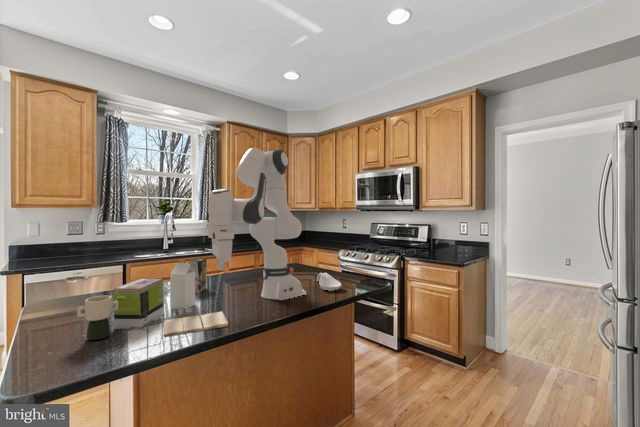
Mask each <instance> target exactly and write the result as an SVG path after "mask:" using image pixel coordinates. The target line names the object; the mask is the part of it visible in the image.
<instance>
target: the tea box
mask: <svg viewBox="0 0 640 427" xmlns="http://www.w3.org/2000/svg"><path fill="white" fill-rule="evenodd" d="M164 297H165V296H164V279H163V278H140V279H139V278H138V279H136V280H132V281H131V282H128V283H125V284H122V285H120V286H117V287H114V288H113V301H118V310H115V311H113V315H114V318H113V320H114V323H113V324H114V329H117V330H118V329H119V330H130V329H131V328H142V327H143V326H144V327H145V325H147V324H149V323H150V322H153V321H154V320H155V319H157V318H159V317H160V316H162V315H164V313H165V306H164V300H165V299H164ZM113 308H115V304H113Z"/></svg>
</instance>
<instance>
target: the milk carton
mask: <svg viewBox="0 0 640 427" xmlns="http://www.w3.org/2000/svg"><path fill="white" fill-rule="evenodd" d="M169 278H170V279H169V281H170V283H169V284H170V289H169V292H170V294H169V296H170V297H169V298H170V300H169V301H170V302H169V307H170V308H169V309H171V310H179V309H187V308H191V307H193V306H195V305H196V293H195V271H194V270H193V269H192V267H191V266H190V264H188V263H182V262H181V263H180V262H176V263H175V266H174V268H173V269H172V271H171V272H170V276H169Z"/></svg>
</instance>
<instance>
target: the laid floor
mask: <svg viewBox="0 0 640 427" xmlns="http://www.w3.org/2000/svg"><path fill="white" fill-rule="evenodd" d="M163 323H164V324H163V337H169V336H175V335H182V334H188V333H194V332H200V331H203V324H202V320H201V317H200V315H194V316H193V315H192V316H185V317H178V318H170V319H164V321H163Z"/></svg>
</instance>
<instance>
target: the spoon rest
mask: <svg viewBox="0 0 640 427" xmlns="http://www.w3.org/2000/svg"><path fill="white" fill-rule="evenodd" d="M316 281H319V283H318V284H319V286H320V288H321V289H322V290H323V289H324V290H323V291H325V290H328V291H327V292H335V291H334V290H336V291H337V290H339V289H340V288H341V287H342V283H341V281H339V280H337V279H336V278H334V277H333V276H332V275H330V274H329V273H328V272H320V273H318V275H317V277H316ZM316 281H315V282H316Z"/></svg>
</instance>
